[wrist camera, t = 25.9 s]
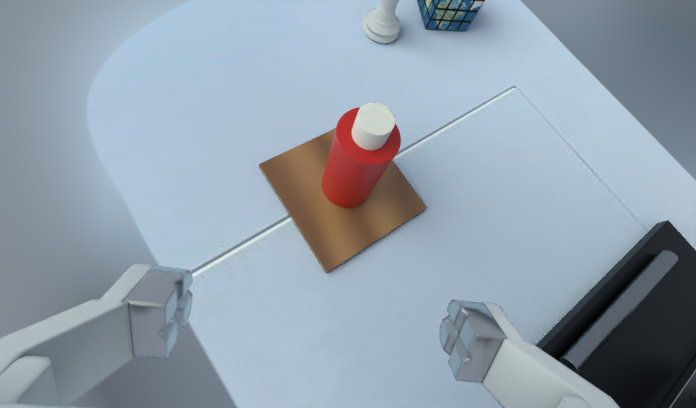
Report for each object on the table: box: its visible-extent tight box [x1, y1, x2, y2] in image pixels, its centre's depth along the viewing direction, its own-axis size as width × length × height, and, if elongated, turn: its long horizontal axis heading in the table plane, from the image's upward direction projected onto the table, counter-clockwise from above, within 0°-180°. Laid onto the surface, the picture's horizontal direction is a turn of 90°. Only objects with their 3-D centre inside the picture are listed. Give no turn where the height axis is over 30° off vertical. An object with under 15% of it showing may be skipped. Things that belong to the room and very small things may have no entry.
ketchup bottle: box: [322, 102, 401, 208], centre depth 27 cm, size 5×5×11 cm
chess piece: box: [362, 0, 400, 44], centre depth 37 cm, size 5×5×8 cm
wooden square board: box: [259, 129, 427, 273], centre depth 32 cm, size 12×12×1 cm
